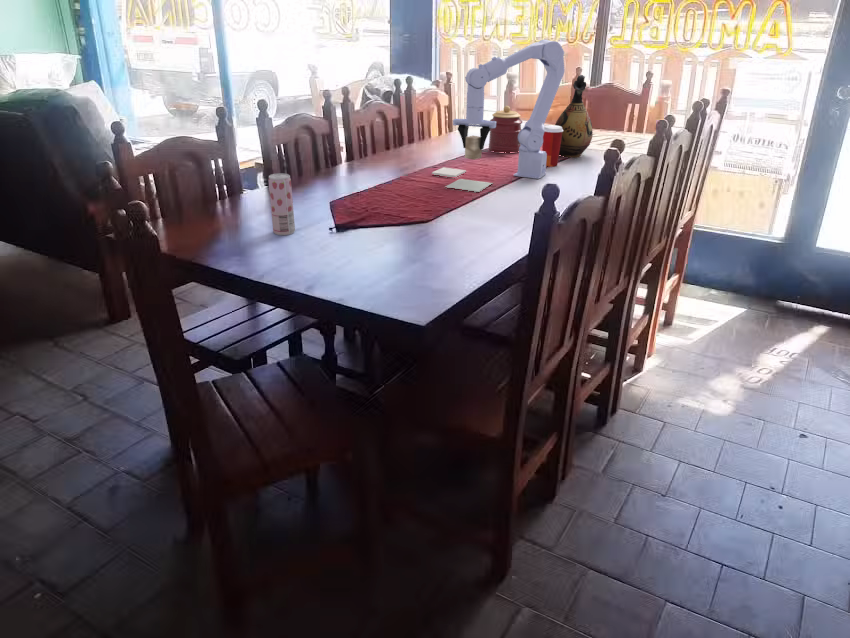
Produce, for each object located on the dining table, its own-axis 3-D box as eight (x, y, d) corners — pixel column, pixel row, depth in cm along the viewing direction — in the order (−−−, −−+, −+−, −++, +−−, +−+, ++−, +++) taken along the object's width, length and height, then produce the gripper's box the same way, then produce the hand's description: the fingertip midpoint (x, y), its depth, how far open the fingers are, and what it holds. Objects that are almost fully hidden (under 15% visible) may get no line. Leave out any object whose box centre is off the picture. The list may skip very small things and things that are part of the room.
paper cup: (559, 163, 251) (562, 125, 245) (560, 167, 244) (564, 128, 238) (538, 162, 252) (541, 124, 246) (539, 167, 245) (542, 128, 239)
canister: (509, 155, 263) (512, 109, 255) (482, 151, 270) (484, 106, 262) (526, 150, 272) (529, 105, 264) (499, 146, 279) (501, 102, 271)
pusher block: (481, 157, 228) (482, 137, 225) (473, 159, 225) (474, 138, 222) (472, 156, 230) (473, 135, 227) (464, 157, 228) (465, 137, 224)
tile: (466, 170, 235) (443, 167, 239) (455, 175, 228) (432, 172, 232) (466, 174, 236) (443, 171, 240) (455, 180, 229) (431, 176, 233)
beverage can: (285, 227, 179) (280, 172, 172) (299, 231, 176) (295, 175, 169) (268, 232, 175) (263, 176, 168) (282, 237, 172) (277, 179, 165)
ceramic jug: (590, 160, 255) (600, 78, 242) (549, 158, 258) (557, 77, 245) (589, 151, 270) (598, 73, 257) (551, 149, 273) (558, 72, 260)
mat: (492, 184, 222) (492, 183, 221) (478, 192, 212) (478, 191, 212) (460, 180, 227) (460, 178, 226) (444, 188, 217) (445, 186, 217)
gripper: (499, 106, 221) (497, 147, 227) (457, 104, 226) (456, 144, 232) (493, 109, 216) (491, 151, 221) (451, 106, 220) (450, 148, 226)
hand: (473, 148), depth 226 cm, fingers closed on pusher block, 5 cm apart
